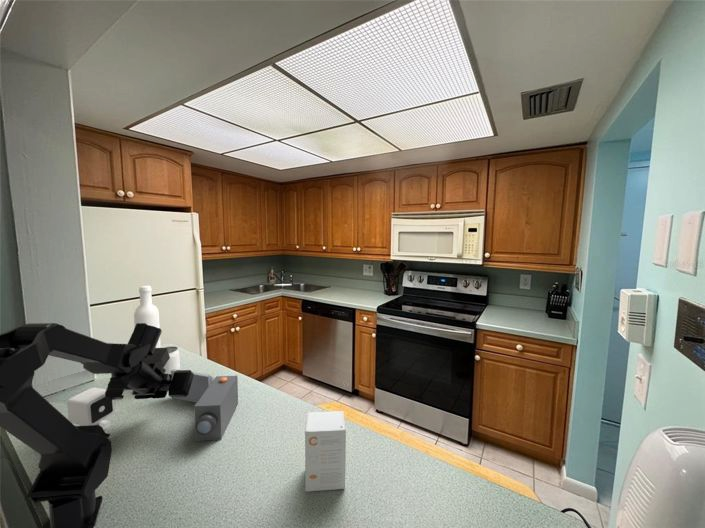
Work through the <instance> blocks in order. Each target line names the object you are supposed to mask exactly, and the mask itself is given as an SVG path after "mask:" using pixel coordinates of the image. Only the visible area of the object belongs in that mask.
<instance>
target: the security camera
mask: <svg viewBox="0 0 705 528" xmlns="http://www.w3.org/2000/svg"><path fill="white" fill-rule="evenodd" d="M106 389H107V388H100V387H91V388H89V389H87V390H85V391H83V392H80V393H79V394H77V395H74V396H72V397H70V398H69V399H68V400H67V403H66V406H67V417H68V418H67V419H68V420H69V421H70V422H71V423H72V424H73V425H78V426H88V425H99V426H101V427H102V428H103V430H104V431H105V429H107V428H109V427H110V426H111V425H110V424H111V423H110V420H108V419H107V418H108V417H110V416H112V415H114V413H115V412H116V402H115V401H116V400H109V399H107V398H106V397H105V391H106ZM106 419H107V420H106Z"/></svg>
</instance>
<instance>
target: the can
mask: <svg viewBox="0 0 705 528" xmlns="http://www.w3.org/2000/svg"><path fill="white" fill-rule="evenodd" d="M164 348H167V350H168V353H169V356H170V359H169V360H168V361H167V363H166V365H165V366H164V369H165V370H166V371H165V374H171V370H172V369H178V370H181V361H180V360H181V359H180V351H179V349H178V348H179V347H178V346H174V345H173V346H166V347H164Z"/></svg>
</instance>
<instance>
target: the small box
mask: <svg viewBox="0 0 705 528" xmlns="http://www.w3.org/2000/svg"><path fill="white" fill-rule="evenodd" d="M346 429H347V428H346V423H345V414H344V410H334V411H314V412H313V411H312V412H307V413H306V421H305V430H304V441H305V442H304V444H305V445H304V447H305V448H304V449H305V450H304V451H305V453H304V454H305V455H304V457H305V461H304V468H305V469H304V474H305V475H304V481H305V488H304V489H305V492H307V493H309V492H317V491H331V490H332V491H333V490H334V491H335V490H345V489H346V449H347V447H346V446H347V445H346V444H347V443H346V442H347V441H346V439H347V430H346Z"/></svg>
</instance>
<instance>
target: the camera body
mask: <svg viewBox="0 0 705 528" xmlns="http://www.w3.org/2000/svg"><path fill="white" fill-rule="evenodd" d="M210 383H211V384H210V386H209V387H208V388H207V390H206V391H205V392H204V394H203V395H202V397H201V398H200V399H199V401H198V402H195V405H194V429H195V430H194V431H195V433H194V434H195V441H197V442H198V441H199V442H200V441H214V440H215V441H216V440H222V439H223V437H224V436H225V435H224V434H225V433H226V430H227V428H228V426H229V425H230V422H231V420H232V418H233V416H234V413H235V411H236V410H237V408H236V407H238V406H237V405H239V393H238V392H239V388H238V387H239V386H238V384H239V382H238V375H221V376H219V375H217V376H216V375H210Z"/></svg>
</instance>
